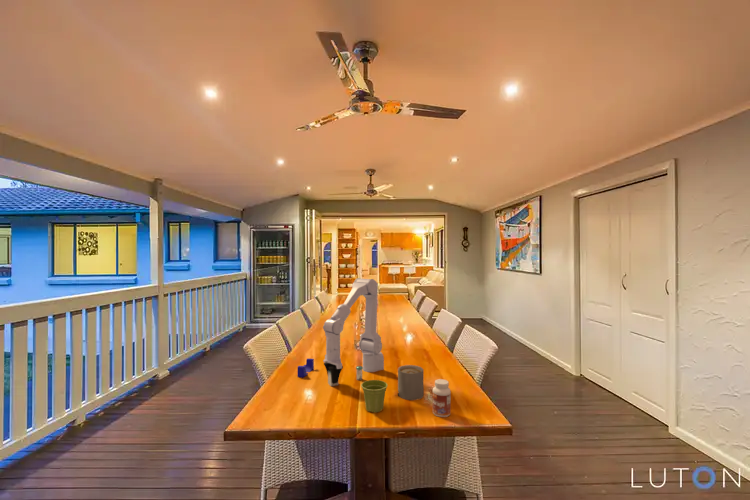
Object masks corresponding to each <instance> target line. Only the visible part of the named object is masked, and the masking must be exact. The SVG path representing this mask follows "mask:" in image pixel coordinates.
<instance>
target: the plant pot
mask: <svg viewBox="0 0 750 500" xmlns="http://www.w3.org/2000/svg"><path fill="white" fill-rule="evenodd" d="M360 386H361V388H362V391H363V396H364V397H363V398H364V403H365V404H364V405H365V410H366V411H367V412H372V413H380V412H382V410H384V405H385V403H384V402H385V397H386V391H387V388H388V383H387V382H385V381H384V380H380V379H370V380H365V381H363V382H362V383H361V385H360Z"/></svg>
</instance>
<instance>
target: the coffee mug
mask: <svg viewBox="0 0 750 500" xmlns="http://www.w3.org/2000/svg"><path fill="white" fill-rule="evenodd" d="M397 391H398V392H397V395H398V397H399V398H401V399H403V400H408V401H417V400H420V399H422V398H423V397H424V368H423V367H421V366H419V365H413V364H405V365H401V366H399V367H397Z"/></svg>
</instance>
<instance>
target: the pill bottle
mask: <svg viewBox="0 0 750 500" xmlns="http://www.w3.org/2000/svg"><path fill="white" fill-rule="evenodd" d="M449 385H450V384H449V381H448V380H447V379H442V378H439V379H435V380H434V386H433V388H432V414H434V416H436V417H439V418H447V417H449V416H450V415H451V407H452V406H451V404H452V402H451V395H452V394H451V389H450V387H449Z"/></svg>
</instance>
